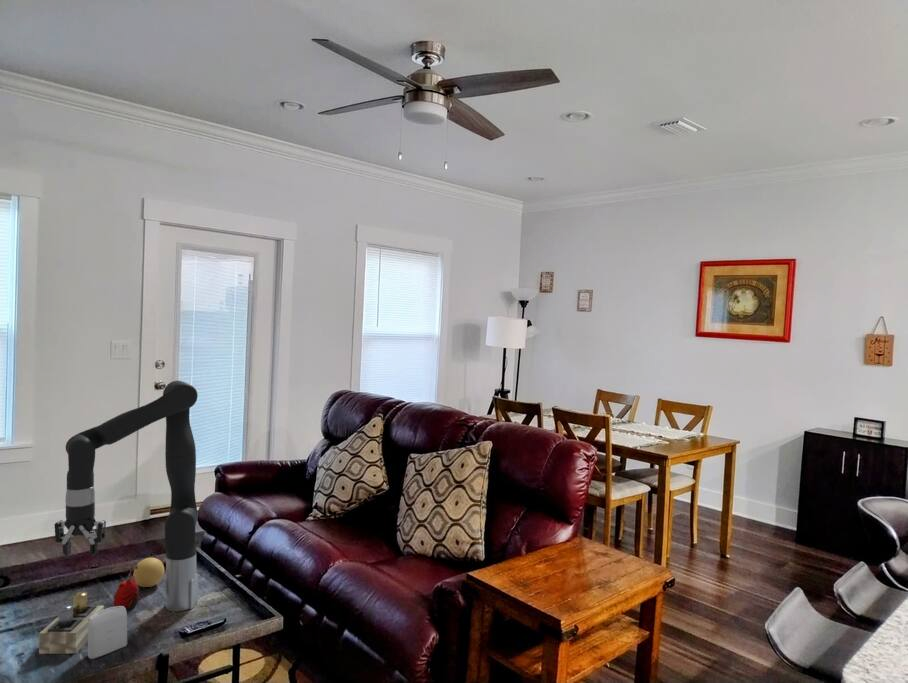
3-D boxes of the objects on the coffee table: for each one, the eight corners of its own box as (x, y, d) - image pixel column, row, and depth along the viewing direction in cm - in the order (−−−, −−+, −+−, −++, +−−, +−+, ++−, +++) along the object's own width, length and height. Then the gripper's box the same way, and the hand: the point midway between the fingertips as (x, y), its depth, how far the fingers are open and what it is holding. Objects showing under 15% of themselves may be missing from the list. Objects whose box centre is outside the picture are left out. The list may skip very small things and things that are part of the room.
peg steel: (75, 623, 178) (75, 604, 177) (68, 630, 174) (68, 610, 174) (62, 623, 177) (62, 604, 177) (55, 630, 174) (55, 610, 173)
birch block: (103, 624, 188) (103, 603, 188) (75, 653, 172) (75, 631, 172) (70, 624, 188) (70, 603, 187) (39, 653, 172) (39, 631, 171)
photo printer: (90, 661, 169) (90, 618, 168) (85, 655, 172) (85, 613, 171) (129, 646, 177) (129, 605, 176) (123, 640, 180) (123, 600, 179)
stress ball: (163, 591, 213) (173, 564, 220) (149, 578, 207) (160, 551, 214) (137, 593, 214) (148, 566, 222) (122, 580, 208) (134, 553, 215)
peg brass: (89, 610, 186) (89, 591, 185) (83, 616, 182) (83, 597, 182) (77, 610, 185) (77, 591, 185) (70, 616, 182) (70, 597, 181)
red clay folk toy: (130, 599, 204) (131, 556, 204) (144, 604, 201) (144, 561, 200) (109, 609, 198) (109, 564, 197) (122, 614, 194) (122, 569, 194)
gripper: (111, 497, 186) (111, 550, 187) (62, 497, 185) (62, 550, 186) (98, 505, 179) (98, 560, 180) (48, 505, 178) (48, 560, 179)
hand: (80, 555), depth 183 cm, fingers open, 7 cm apart
